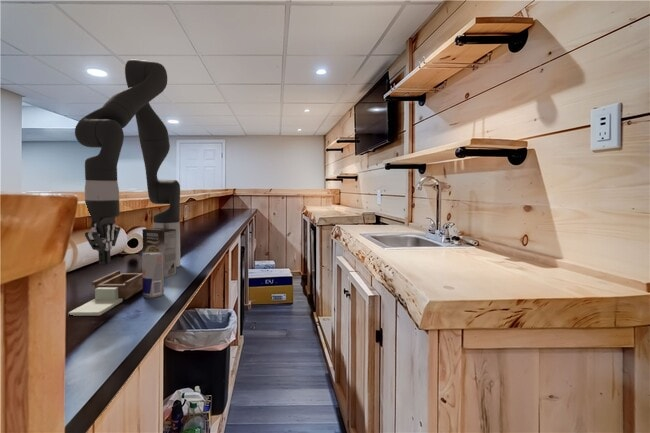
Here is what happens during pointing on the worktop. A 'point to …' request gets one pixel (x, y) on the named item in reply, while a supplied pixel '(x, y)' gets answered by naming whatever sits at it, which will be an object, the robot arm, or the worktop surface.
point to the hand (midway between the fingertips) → (104, 264)
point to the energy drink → (152, 274)
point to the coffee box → (162, 246)
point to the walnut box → (122, 283)
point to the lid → (99, 302)
